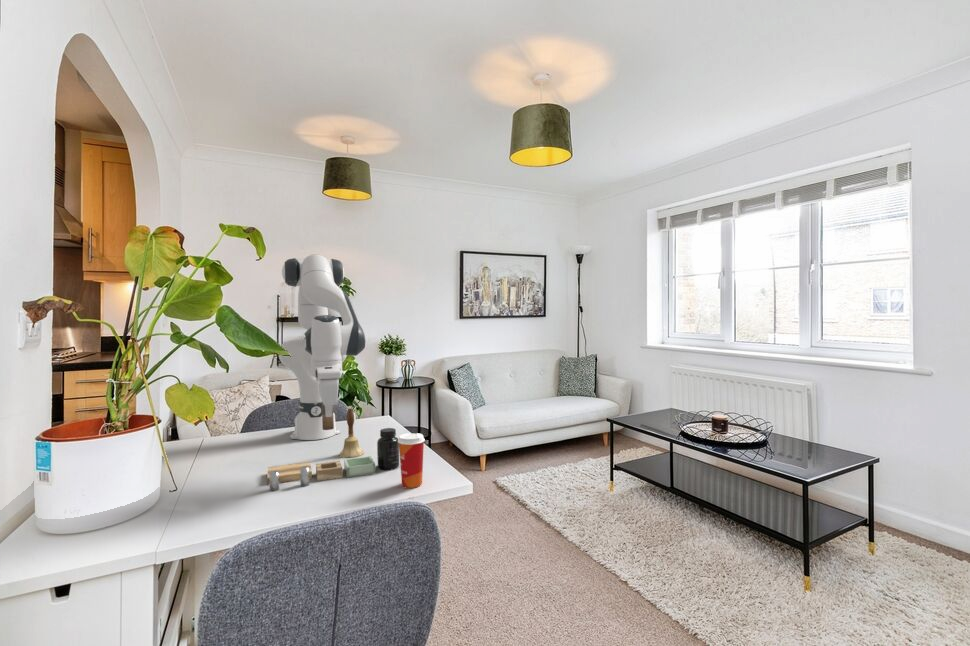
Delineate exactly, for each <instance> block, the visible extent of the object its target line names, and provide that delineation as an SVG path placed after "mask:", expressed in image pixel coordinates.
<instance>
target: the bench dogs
mask: <svg viewBox="0 0 970 646" xmlns="http://www.w3.org/2000/svg"><path fill="white" fill-rule="evenodd" d="M269 479H270V485H269V491H270V492H276V491H279V490H280V483H279V471H278V470H274V471H270V472H269ZM299 481H300V482H299V483H300V486H301V487H308V486H310V485H311V484H310V479H309V467H308V466H304V467H301V468H300V480H299Z"/></svg>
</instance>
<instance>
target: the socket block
mask: <svg viewBox="0 0 970 646" xmlns="http://www.w3.org/2000/svg"><path fill="white" fill-rule="evenodd" d="M315 473H316V480H317V482H321V481H320V480H323V481H328V480H327V479H330V480H335V479H334V478H336V479H343V466H342V464H341V461H340V460H337V461H336V460H335V461H334V460H333V461H329V462H328V461H327V462H321V463H315Z"/></svg>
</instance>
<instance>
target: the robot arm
mask: <svg viewBox="0 0 970 646" xmlns="http://www.w3.org/2000/svg"><path fill="white" fill-rule="evenodd" d="M281 276H282V279H283V281H284V283H285V284H286V285H287V286H290V287H294V288H296V287H298V293H297V295H298V297H297V318H298V319H297V321H298V324H299V325H300V327H302V328H303V329H305V330H306V331H305V332H304V333H303V334H304V336H305V338H303V339H301V338H300V339H292V340H288V341H284V342H283V343H282V344H281V345H280V347H281V346H282V347H283V348H284V349H286V350H287V351H288V352H289V353H290V354H291V355H292V356H293V358H292V357H290V356H282V355H279V354H278V359H279V361H280V362H281V364H282V365H283V366H284V367H286V368H288V369H289V370H290V371H291V372H292V373H293V374H294V375H295V377H296V379H297V382H298V386H299V398H300V399H299V402H298V403H299V404H298V411H299V413H298V414H297V415H296V416H295V418H294V425H295V426H294V431H293V432H292V433H291V434H290V437H289V438H290V439H292V440H294V439H295V440H302V441H314V440H315V441H316V440H323V439H327V438H331V437H332V436H335V435H338V434H339V435H340V434H341V430H340V429H339V428H338V427H336V414H335V413H334V412H333V418H334V429H331V430H323V426H322V402H323V404H324V406H325V416H326V417H331V416H332V406H333V407H334V406H336V405H337V404H338V397H339V385H340V384H339V383H340V382H339V381H340V380H339V379H341V378H342V375H343V363H344V362H345V360H346V359H347V357H348V356H351V357H352V356H354V357H356V356H358V355H360V354H361V353H362V352H363V351H364V350H365V347H366V342H367V341H366V335H365V332H364V329H363V327H362V326H361V324H360V322H359V320H358V318H357V314H356V313H355V310H354V307H353V305H352V302H351V300H350V298H349V295H348V294H347V292H346V291H345V290H343V289H342V288H340V287H339V286H340V285H341V284H342V283H343V281H344V278H345V269H344V265H343V262H341V260H339V259H335V258H331V259H329V258H326V257H325V256H323V255H321V254H310V255H307V256H306V257H303V258H296V257H294V258H289V259H286V260H285V261H284V264H283V265H282V269H281ZM329 309H331V310H333V311H335V312H337V313H338V314H339V315H340V317H341V320H342V323H343V325H341V323H340V319H339V317H337V316H334V315H330V314H329Z"/></svg>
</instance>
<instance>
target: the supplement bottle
mask: <svg viewBox="0 0 970 646" xmlns="http://www.w3.org/2000/svg"><path fill="white" fill-rule="evenodd" d="M396 431H397V430H396V428H393V427H387V428H386V427H385V428H382V429H380V430H379V438H378V440H377V442H376V446H377V447H376V448H377V449H376V450H377V451H376V452H377V453H376V454H377V467H378V469H379V470H381V471H392V470H391V469H393V470H395V468H396V469H398V467H399V466H400V453H399V443H398V440H399V437H397V436H396V435H397V432H396Z"/></svg>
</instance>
